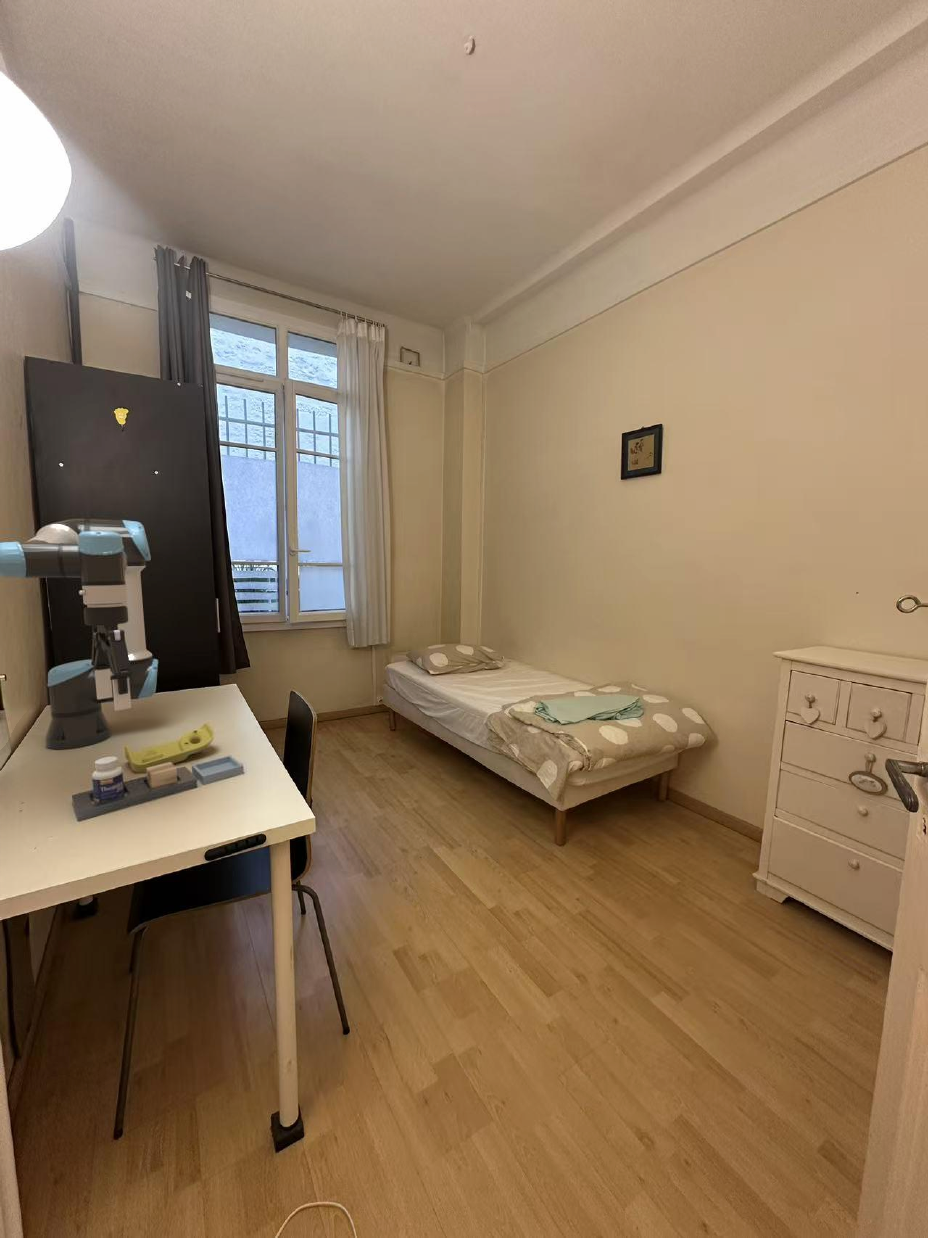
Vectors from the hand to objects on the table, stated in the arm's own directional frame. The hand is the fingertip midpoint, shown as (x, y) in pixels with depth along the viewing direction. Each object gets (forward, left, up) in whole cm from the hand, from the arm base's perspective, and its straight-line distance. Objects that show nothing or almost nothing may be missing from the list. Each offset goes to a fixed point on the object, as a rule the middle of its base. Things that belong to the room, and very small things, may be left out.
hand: (113, 703), depth 105 cm
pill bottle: (0, -2, -22) cm, 22 cm away
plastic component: (-18, +14, -22) cm, 32 cm away
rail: (0, +3, -22) cm, 22 cm away
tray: (0, +20, -22) cm, 30 cm away
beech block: (0, +8, -22) cm, 23 cm away
